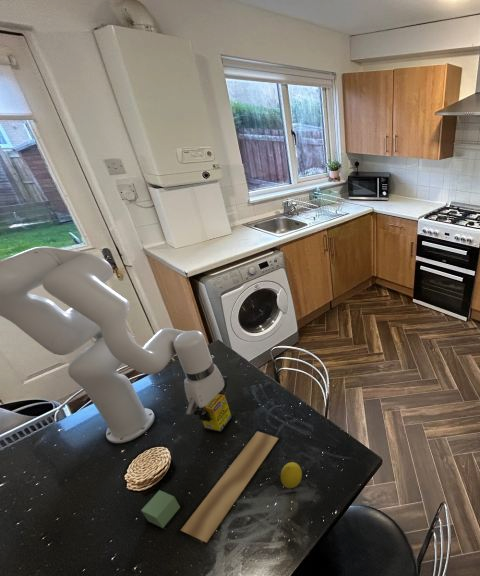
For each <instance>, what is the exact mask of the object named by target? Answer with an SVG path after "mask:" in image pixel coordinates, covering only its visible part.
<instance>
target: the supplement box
mask: <svg viewBox="0 0 480 576" xmlns="http://www.w3.org/2000/svg"><path fill="white" fill-rule="evenodd" d="M225 396H226V394H225V395H222V394H217V395H216V396H215V397H214V398H213V399H212V400H211V401H210V402H209V403H208V404H207V405H206V411H207V412H208V414H209V416H210V419H211V420H210V421H209V422H208V421H202V425H203V426H204V429H205V430H208V431H209V430H210V431H213V432H217V433H218V432H219V433H222V431H223V430H224V428H225V427H226V426H227V424H228V423H229V422H230V421H231V419H232V418H233V416H232V414H231V410H230V407H229V404H228V401H226V400H227V397H225ZM200 409H201V408H200Z"/></svg>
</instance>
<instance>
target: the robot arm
mask: <svg viewBox="0 0 480 576" xmlns="http://www.w3.org/2000/svg"><path fill="white" fill-rule="evenodd" d="M113 275H114V269H113V267H112V265H111V264H110V262H109V261H107V260H106V259H105V258H103V257H101V256H98V255H96V254H93V253H90V252H85V251H80V250H74V249H68V248H60V247H53V246H36V247H33V248H29V249H27V250H24V251H22V252H19V253H16V254H14V255H12V256H8V257H6V258H3V259H1V260H0V317H2V318H4V319H6V320H8V321H9V322H11V323H12V324H14V325H15V326H16V327H18V329H20V330H21V331H22V332H24V334H25V335H27V336H29V337H30V338H31V339H32V340H34V341H35V342H36V343H37V344H39V345H40V346H42V347H43V348H44V349H45V350H47V351H48V352H50V353H52V354H53V355H57V356H66V355H67V356H68V355H69V354H72V353H74V352H75V351H78V349H80V348H81V347H83V346H84V345H85V344H87V343H88V342H89V341H90V340H91V339H95V341H93V342H92V343H90V344H89V345H88V346H87V347H86V348H84V349H83V350H82V351H81V352H79V354H78V355H76V356H75V357H74V358H73V359H72V361H71V362H70V363H69V365H68V368H67V373H68V376H69V377H70V378H71V380H73V381H74V382H75V383H76V384H77V385H78V386H79V387H80V388H81V389H82V390H83V391H84V392H85V393H86V395H87V397H88V398H89V399H90V400H91V402H92V404H93V405H94V407H95V408H96V410H97V412H98V413H99V415H100V416H101V418H102V419H103V421H104V423H105V424H106V426H107V429H106V431H105V437H106V439H107V441H108V442H110V443H112V444H123V443H127V442H131V441H132V440H135V439H137V438H138V437H140V436H142V435H143V434H144V433H146V432H147V431H148V429H150V428H151V426H152V425H153V423H154V421H155V413H154V412H153V410H152V409H151V408H148V407H144V405H143V403H142V401H141V399H140V398H139V395H138V394H137V391H136V390H135V388H134V386H133V384H132V382H131V381H130V379H129V378H128V376H126V375H125V374H123V373H118V369H119V368H120V367H121V366H122V364H124V365H125V366H127V367H128V368H131V370H134V371H137V373H141V374H144V375H155V374H156V375H157V374H159V373H160V372H161V371H163V370H164V369H165V368H166V367H167V366H168V364H169V363H170V362H171V360H172V359H174V357H175V356H176V357H177V358H178V361H179V363H180V366H181V369H182V371H183V373H184V376H185V379H184V380H183V386H184V387H183V388H184V392H185V396H186V399H187V402H188V404H189V405H188V407H187V409H186V412H185V415H188V416H199V419H200V420H201V421H202V422H203V421H208V422H209V421H210V420H211V419H210V416H209V414H208V412H207V411H206V405H207V404H208V403H209V402H210V401H211V400H212V399H213V398H214V397H215V396H216V395H217V394H222V395H225V397H226V393H227V390H226V388H227V386H228V384H227V383H228V381H229V376H226V375H222V373H221V370H219V368H218V366H217V365H216V364H215V363H214V360H215V356H214V355H213V354H212V355H211V352H210V349H209V347H208V343H207V340H206V338H205V335H204V334H203V333H202V332H201V331H199V330H196V329H195V330H187V331H186V330H182V329H176V328H170V327H165V328H161V329H160V330H158V331H157V332H156V333H155V334H153V335H152V337H151V338H150V339H148V340H147V341H146V343H145V344H143V346H141V345H139V344H138V343H137V341H136V339H135V337H134V336H133V335H132V334H131V333H130V332H129V331H128V330H127V318H128V315H129V314H128V313H129V312H130V307H131V303H130V301H129V300H128V299H127V298H126V297H123V296H122V295H121V294H120V293H119V292H116V291H115V290H114V289H113V288H111V287H109V286H108V285H107V284H106V282H108V281H109V280H110V279H111V278H112V277H113ZM40 286H42V287H43V289H44V290H45V291H46V292H47V293H48V294H50V295H51V296H52V297H54V298H55V299H56V300H58V301H60V302H62V303H63V304H65V305H66V306H68V307H69V308H68V309H67V310H63V308H61V307H60V306H58V304H57V303H55V302H54V300H52V299H50V298H47V297H44V296H41V295H37V294H34V293H29V292H31V291H32V290H34V289H36V288H38V287H40ZM226 398H227V397H226ZM226 401H227V399H226ZM227 402H228V401H227ZM200 408H201V409H200Z"/></svg>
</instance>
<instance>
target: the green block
mask: <svg viewBox="0 0 480 576" xmlns="http://www.w3.org/2000/svg"><path fill="white" fill-rule="evenodd" d="M180 508H181V506H180V504H179V502H178V501H177V499H176V496H174V495H172V494H169V493H167V492H165V491H163V490H160V489H159V490H158V491H157V492H156V494H154V495H153V497H151V499H150V500H149V501H148V502H147V503H146V504H145V505H144V506H143V507H142V509H141V510H140V512H141V513H142V515H143V516H144V517H145V519H146V520H147V522H149V523H151V524H153V525H155V526H157V527H160V528H161V529H164V528H165V526H166V525H167V524H168V523H169V522H170V521H171V519H172V518H173V517H174V516H175V514H176V513H177V512H178V511H179V510H180Z"/></svg>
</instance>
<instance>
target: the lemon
mask: <svg viewBox="0 0 480 576" xmlns="http://www.w3.org/2000/svg"><path fill="white" fill-rule="evenodd" d="M302 477H303V470H302V468H301V466H300V465H299V464H298V463H297V462H294V461H291V462H288V463H286V464H285V465H283V467H282V468H281V471H280V481H281V484H282V485H283V486H284V487H285V488H287V489H294V488H296V487H297V486H299V484H300V483H301V481H302Z"/></svg>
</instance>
